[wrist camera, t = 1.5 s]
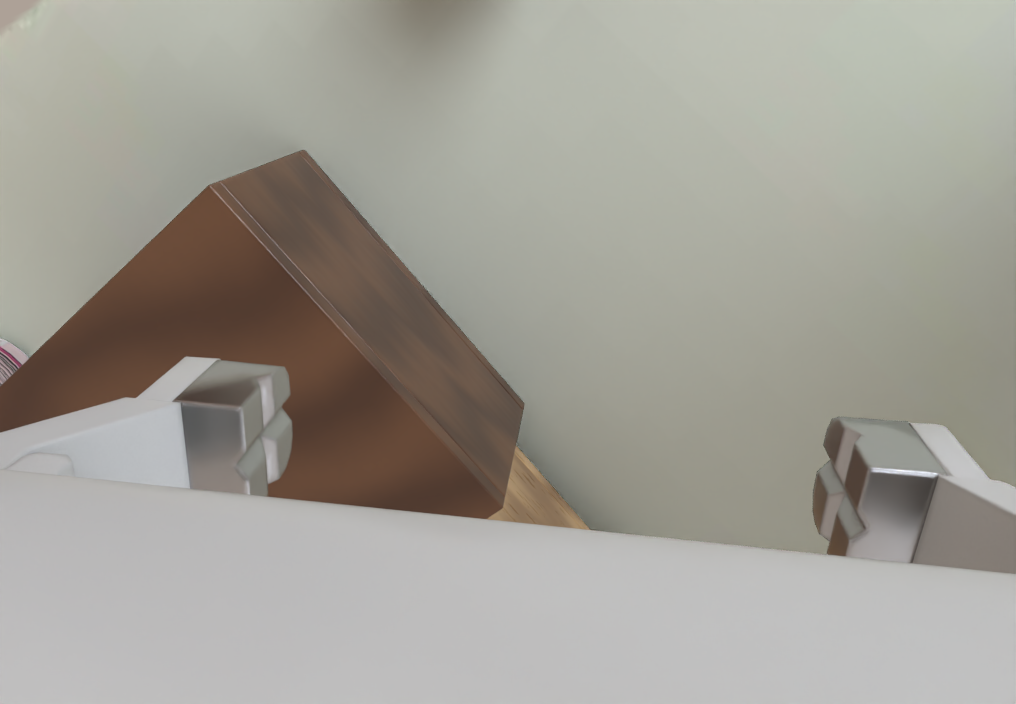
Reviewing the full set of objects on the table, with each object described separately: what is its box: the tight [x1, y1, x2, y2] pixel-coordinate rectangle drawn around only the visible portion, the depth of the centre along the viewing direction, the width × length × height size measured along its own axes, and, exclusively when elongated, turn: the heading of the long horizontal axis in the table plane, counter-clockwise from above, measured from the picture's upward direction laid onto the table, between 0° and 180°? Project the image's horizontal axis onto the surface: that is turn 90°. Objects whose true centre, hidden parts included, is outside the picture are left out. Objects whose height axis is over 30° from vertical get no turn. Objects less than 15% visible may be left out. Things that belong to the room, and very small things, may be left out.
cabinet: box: [0, 150, 524, 519], centre depth 36 cm, size 16×15×10 cm
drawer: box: [488, 446, 590, 530], centre depth 39 cm, size 19×13×8 cm
